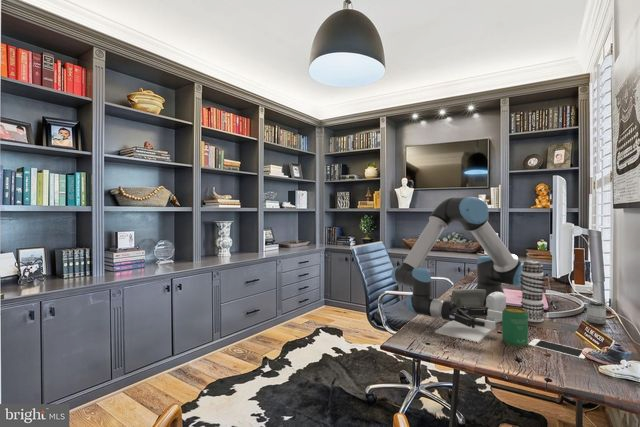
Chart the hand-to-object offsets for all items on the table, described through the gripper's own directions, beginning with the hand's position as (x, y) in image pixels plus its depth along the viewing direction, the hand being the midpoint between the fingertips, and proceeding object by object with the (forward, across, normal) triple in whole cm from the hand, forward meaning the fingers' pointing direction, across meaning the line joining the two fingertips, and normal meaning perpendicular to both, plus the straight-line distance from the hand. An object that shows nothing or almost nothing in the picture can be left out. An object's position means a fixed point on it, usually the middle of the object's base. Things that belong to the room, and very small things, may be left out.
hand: (500, 321), depth 127 cm
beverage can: (+4, -1, -7) cm, 9 cm away
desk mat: (-13, -2, -7) cm, 15 cm away
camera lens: (+24, -48, -7) cm, 54 cm away
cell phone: (+17, -5, -8) cm, 19 cm away
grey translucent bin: (-22, -28, -7) cm, 36 cm away
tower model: (+3, -35, -7) cm, 36 cm away
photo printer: (-8, -22, -7) cm, 24 cm away
